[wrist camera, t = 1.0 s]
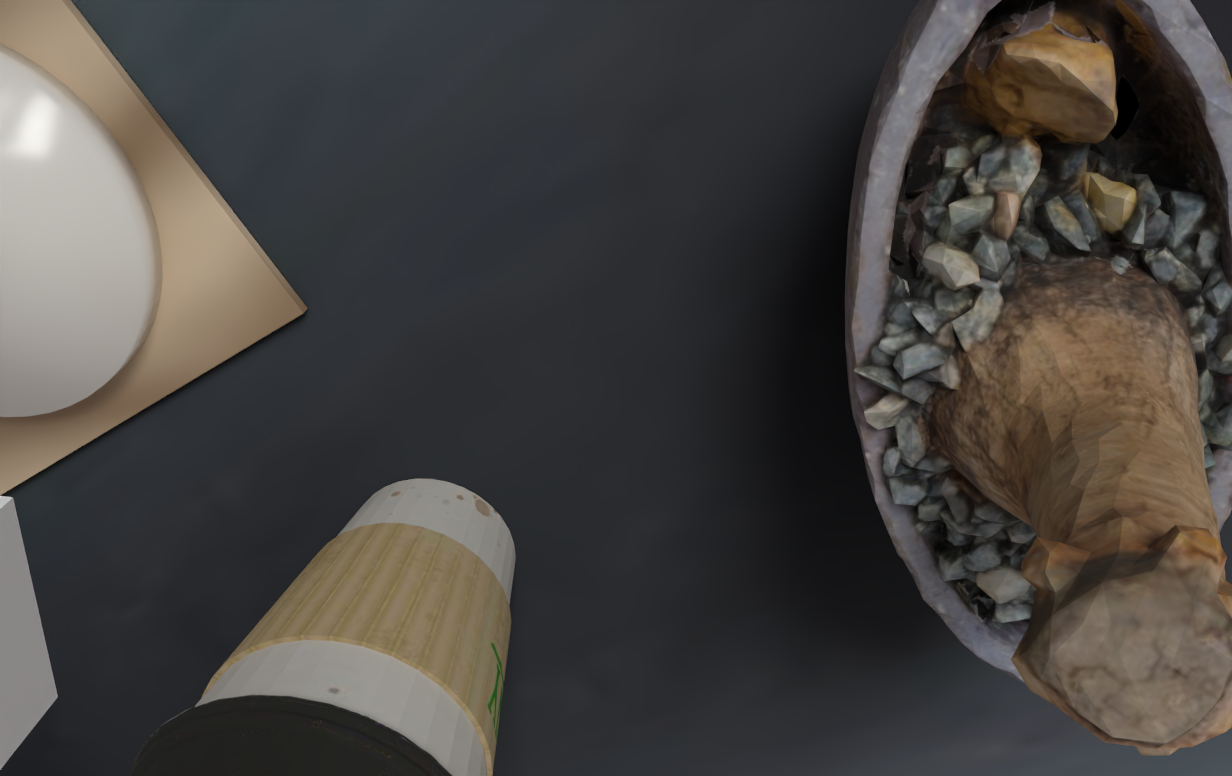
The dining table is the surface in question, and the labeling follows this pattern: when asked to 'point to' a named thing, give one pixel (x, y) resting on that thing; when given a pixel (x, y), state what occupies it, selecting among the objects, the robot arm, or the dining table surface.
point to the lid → (67, 246)
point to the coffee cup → (366, 654)
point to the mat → (189, 237)
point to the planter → (1056, 347)
